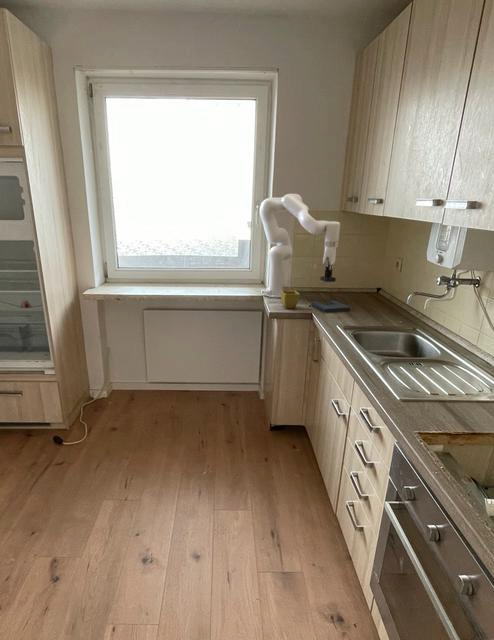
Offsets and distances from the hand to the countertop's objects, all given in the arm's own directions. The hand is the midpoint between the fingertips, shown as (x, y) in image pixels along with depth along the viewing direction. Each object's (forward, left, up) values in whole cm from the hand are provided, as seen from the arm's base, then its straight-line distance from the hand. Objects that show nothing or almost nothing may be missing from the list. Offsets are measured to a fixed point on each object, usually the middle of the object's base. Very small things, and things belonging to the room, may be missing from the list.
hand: (328, 276), depth 244 cm
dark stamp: (0, 0, -3) cm, 3 cm away
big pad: (-1, -8, -17) cm, 19 cm away
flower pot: (-24, -1, -17) cm, 30 cm away
